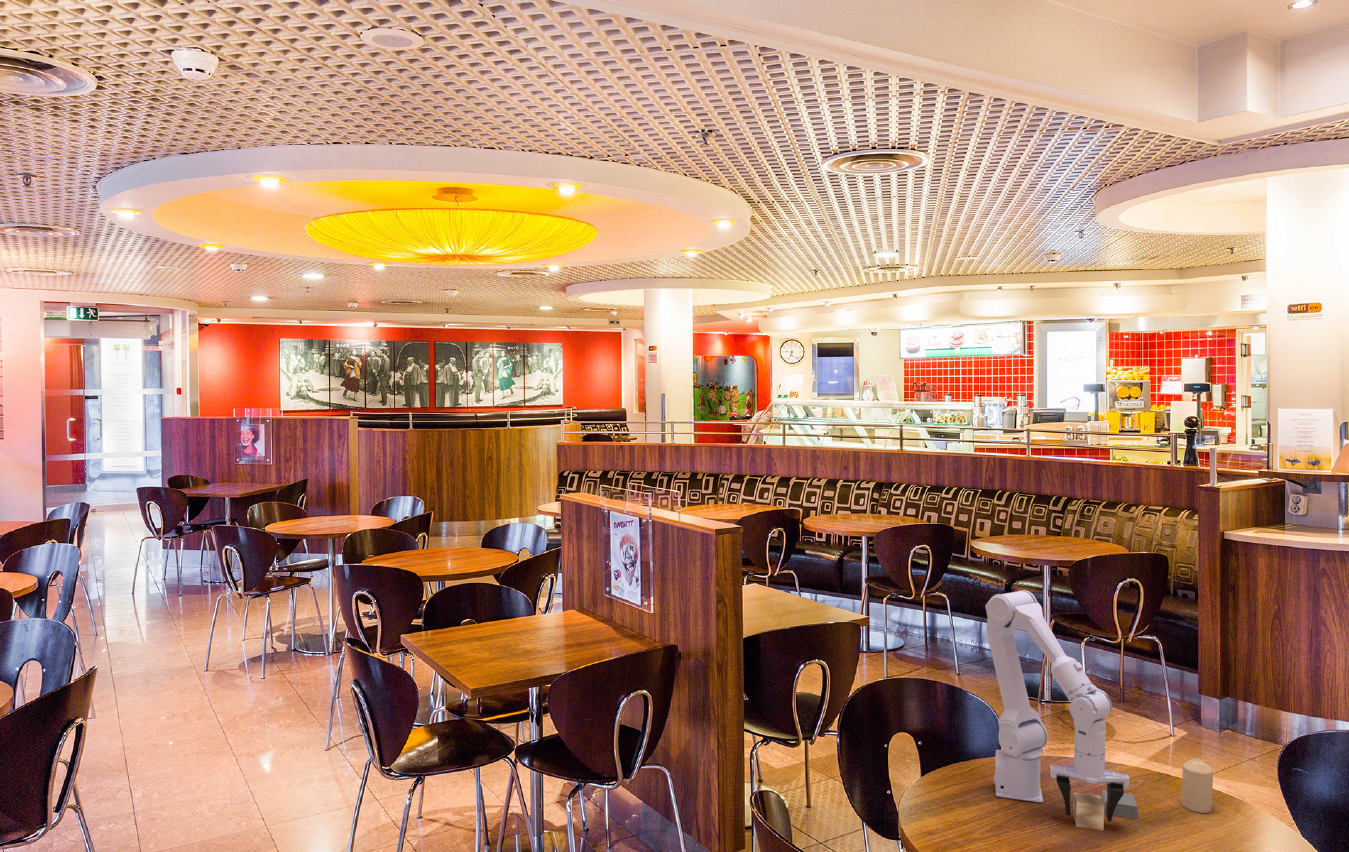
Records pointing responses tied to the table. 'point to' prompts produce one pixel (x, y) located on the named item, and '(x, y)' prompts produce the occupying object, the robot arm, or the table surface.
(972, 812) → the table surface
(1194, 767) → the candle
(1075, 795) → the beech cube
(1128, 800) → the gray block
